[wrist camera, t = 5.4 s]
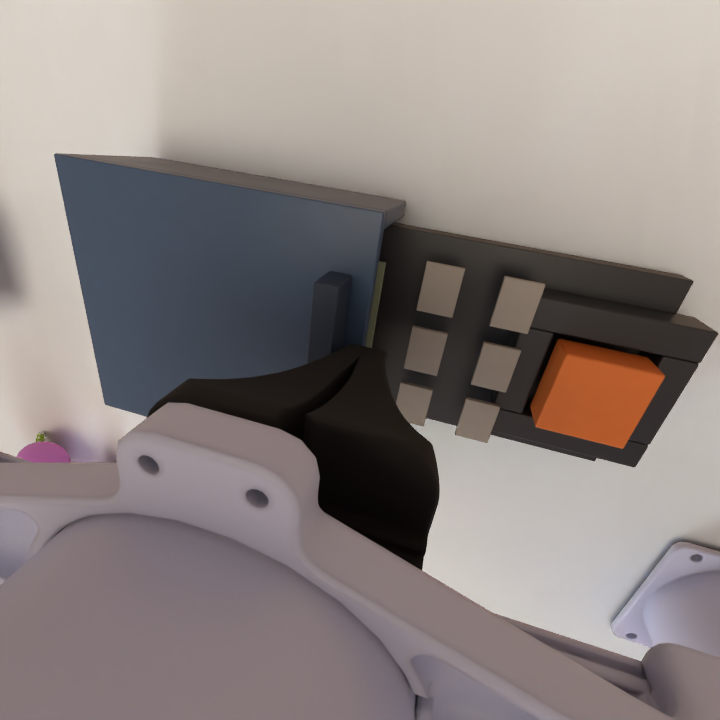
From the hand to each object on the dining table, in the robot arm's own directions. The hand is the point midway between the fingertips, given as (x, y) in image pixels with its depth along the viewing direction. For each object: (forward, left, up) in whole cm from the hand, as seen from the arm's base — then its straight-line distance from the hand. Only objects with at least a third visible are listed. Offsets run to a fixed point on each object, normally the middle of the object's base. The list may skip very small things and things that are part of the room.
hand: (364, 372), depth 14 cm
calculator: (-3, 0, -6) cm, 6 cm away
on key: (-8, 0, -3) cm, 9 cm away
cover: (+6, 0, -5) cm, 8 cm away
